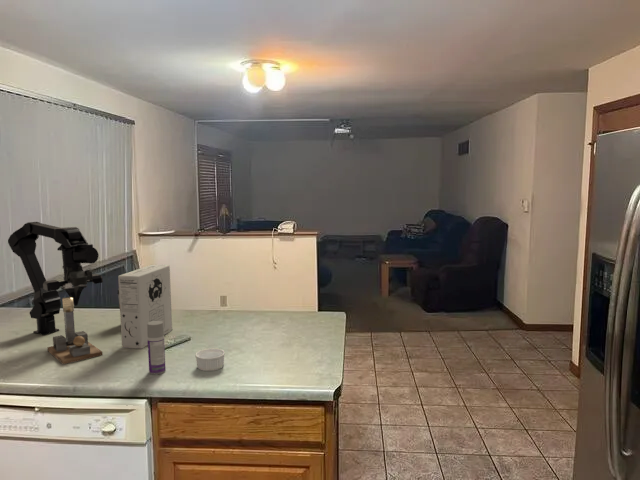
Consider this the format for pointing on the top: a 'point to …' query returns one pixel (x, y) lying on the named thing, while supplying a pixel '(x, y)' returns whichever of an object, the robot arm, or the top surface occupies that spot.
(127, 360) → the top surface
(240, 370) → the top surface
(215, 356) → the ramekin
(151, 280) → the cereal box
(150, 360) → the container
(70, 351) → the tan base plate
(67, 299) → the lever
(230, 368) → the top surface
